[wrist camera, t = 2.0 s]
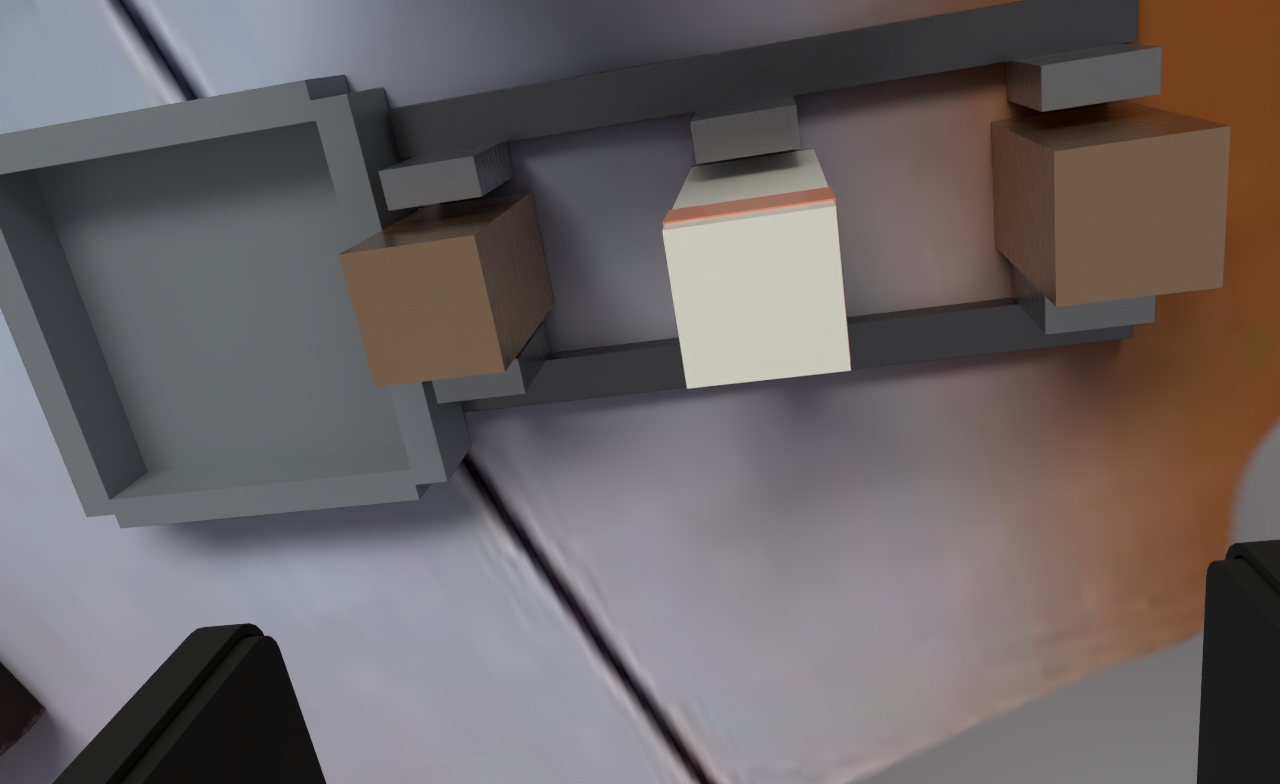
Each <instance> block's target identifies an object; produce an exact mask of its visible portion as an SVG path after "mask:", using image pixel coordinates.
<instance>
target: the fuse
mask: <svg viewBox="0 0 1280 784" xmlns="http://www.w3.org/2000/svg"><path fill="white" fill-rule="evenodd" d="M662 232H663V239H664V245H665V252H666V258H667V264H668V271H669V277H670V283H671V290H672V296H673V302H674V309H675V315H676V322H677V328H678V334H679V341H680V347H681V353H682V360H683V366H684V372H685V379H686V385H687V389H690V388H699V387H708V386H717V385H726V384H735V383H744V382H753V381H762V380H771V379H780V378H789V377H798V376H807V375H816V374H825V373H834V372H843V371H851V366H850V363H851V360H850V349H849V338H848V327H847V317H846V306H845V295H844V284H843V273H842V262H841V251H840V240H839V230H838V219H837V208H836V198H835V195H834V193H833V190H832V188H831V187H828V185H827V182H826V179H825V177H824V174H823V172H822V169H821V166H820V164H819V161H818V159H817V156H816V154H815V151H814V149H810V150H803V151H796V152H790V153H783V154H776V155H770V156H763V157H756V158H750V159H743V160H737V161H730V162H723V163H717V164H710V165H703V166H697V167H691V170H690V172H689V174H688V176H687V178H686V180H685V182H684V185H683V187H682V189H681V191H680V193H679V195H678V197H677V200H676V202H675V204H674V206H673V208H672V210H668V212H667V215H666V217H665V219H664V221H663V230H662Z"/></svg>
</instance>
